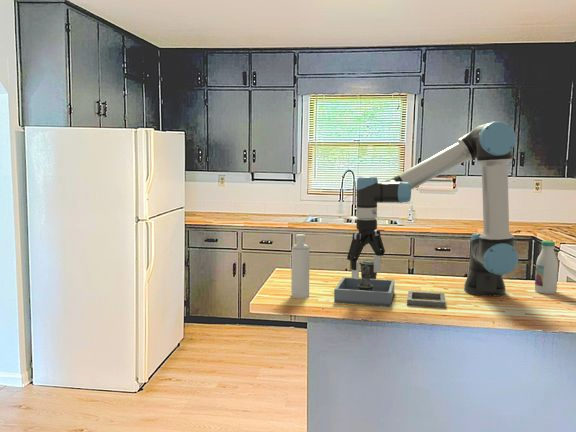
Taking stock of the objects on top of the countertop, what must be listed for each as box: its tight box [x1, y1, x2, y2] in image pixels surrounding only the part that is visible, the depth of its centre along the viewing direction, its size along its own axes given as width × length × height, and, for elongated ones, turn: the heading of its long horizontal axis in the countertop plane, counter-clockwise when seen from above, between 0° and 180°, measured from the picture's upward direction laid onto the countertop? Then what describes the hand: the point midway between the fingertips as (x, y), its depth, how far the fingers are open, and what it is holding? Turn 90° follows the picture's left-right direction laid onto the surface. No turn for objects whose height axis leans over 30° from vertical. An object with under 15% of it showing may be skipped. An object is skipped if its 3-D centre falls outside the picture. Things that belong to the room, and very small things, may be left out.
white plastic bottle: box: [291, 233, 310, 299], centre depth 200 cm, size 7×7×25 cm
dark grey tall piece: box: [358, 264, 374, 291], centre depth 199 cm, size 6×6×12 cm
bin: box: [333, 276, 395, 308], centre depth 199 cm, size 20×20×5 cm
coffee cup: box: [359, 259, 378, 279], centre depth 219 cm, size 8×8×10 cm
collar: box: [406, 290, 446, 309], centre depth 194 cm, size 13×13×2 cm
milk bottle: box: [534, 240, 559, 295], centre depth 207 cm, size 8×8×20 cm
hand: (366, 275), depth 199 cm, fingers open, 13 cm apart
